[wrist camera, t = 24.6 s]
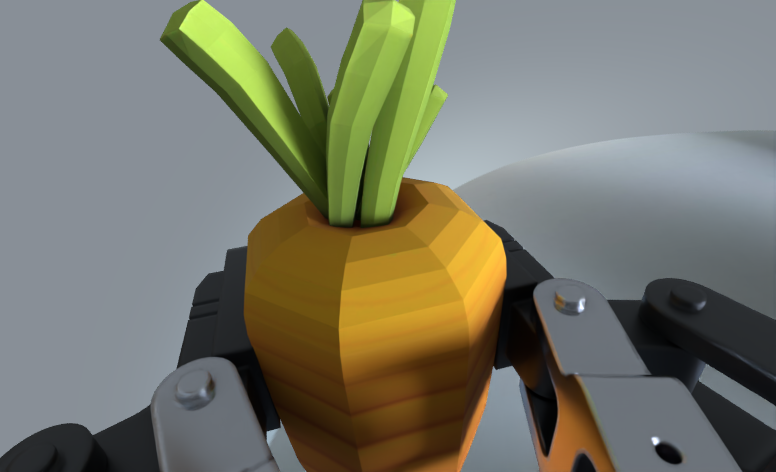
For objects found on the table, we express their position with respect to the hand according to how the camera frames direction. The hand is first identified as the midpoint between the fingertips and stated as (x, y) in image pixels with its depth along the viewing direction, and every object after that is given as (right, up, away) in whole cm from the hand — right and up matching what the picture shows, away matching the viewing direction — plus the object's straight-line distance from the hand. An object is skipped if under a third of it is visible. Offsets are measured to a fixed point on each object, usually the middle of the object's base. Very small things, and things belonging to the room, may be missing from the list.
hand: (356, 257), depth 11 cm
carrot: (+1, -9, +2) cm, 9 cm away
